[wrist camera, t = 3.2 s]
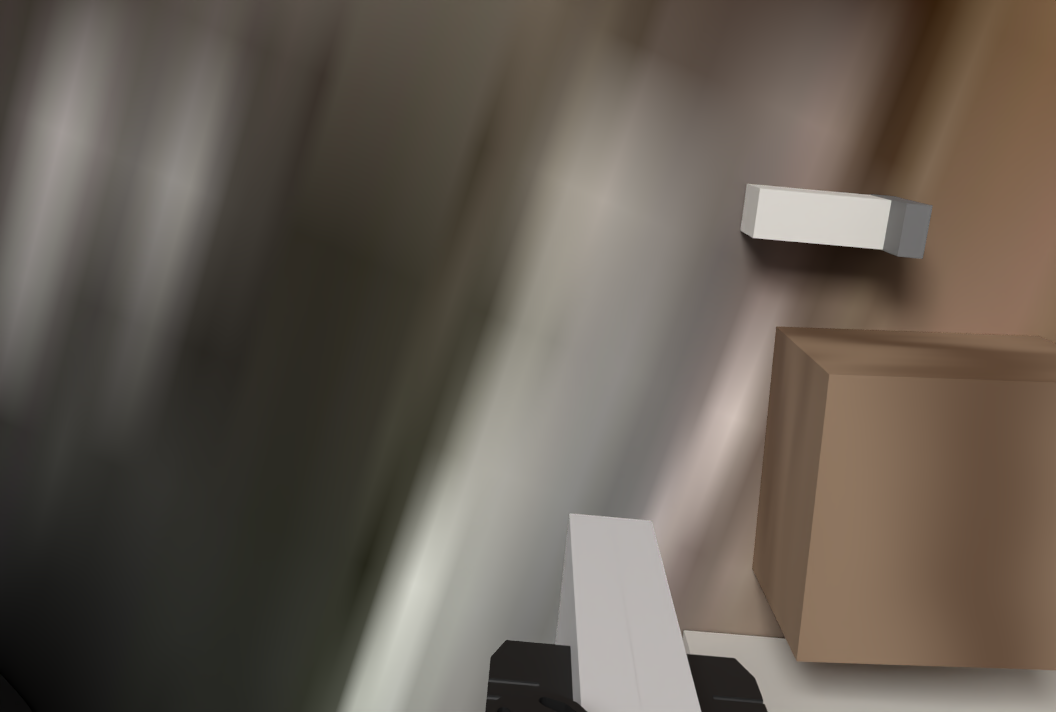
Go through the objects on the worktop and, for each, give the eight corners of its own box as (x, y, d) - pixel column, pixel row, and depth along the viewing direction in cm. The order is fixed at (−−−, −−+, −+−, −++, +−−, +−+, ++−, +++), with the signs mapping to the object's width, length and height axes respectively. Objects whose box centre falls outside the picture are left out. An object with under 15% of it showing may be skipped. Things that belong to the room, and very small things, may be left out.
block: (751, 565, 28) (796, 661, 23) (774, 325, 26) (829, 374, 22) (996, 574, 28) (1093, 671, 23) (1036, 334, 26) (1149, 385, 22)
